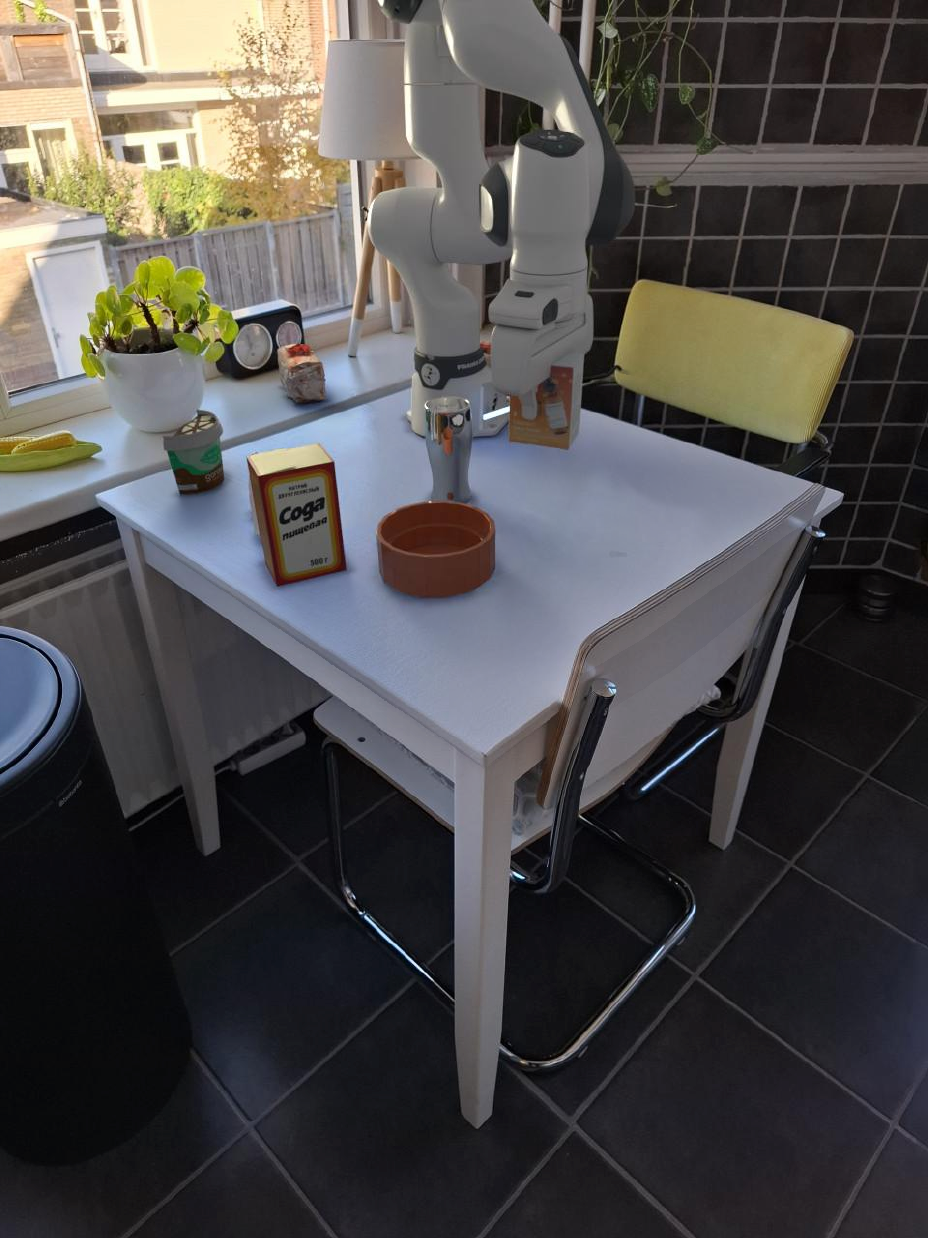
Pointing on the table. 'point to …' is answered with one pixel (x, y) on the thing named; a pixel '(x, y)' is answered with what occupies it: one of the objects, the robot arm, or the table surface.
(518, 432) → the small box
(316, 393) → the food item
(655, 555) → the table surface
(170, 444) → the food container
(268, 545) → the baking soda box
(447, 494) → the beer glass
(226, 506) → the table surface
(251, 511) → the shaker set
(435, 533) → the bowl
